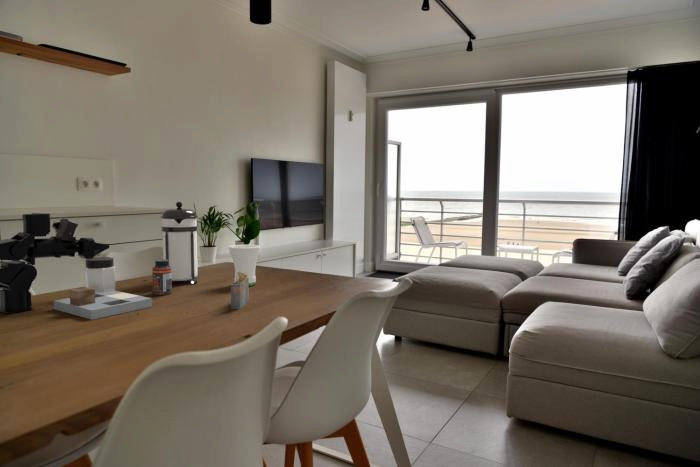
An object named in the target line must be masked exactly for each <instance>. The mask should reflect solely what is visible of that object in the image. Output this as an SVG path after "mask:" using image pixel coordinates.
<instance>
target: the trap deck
mask: <svg viewBox="0 0 700 467" xmlns="http://www.w3.org/2000/svg"><path fill="white" fill-rule="evenodd" d="M151 307H153V298H152V297H148V296H147V297H146V296H143V295H139V294H133V293H128V292H123V291H118V290H115V291H114V290H111V291H106V292H100V293H95V303H92V304H87V305H82V306H77V305H73V304H70V297H67V298H60V299H56V300H53V309H54V310H55V311H59V312H63V313H66V314H70V315H73V316H78V317H81V318H85V319H88V320H91V321H92V320H97V319H102V318H106V317H111V316H116V315H120V314H124V313H125V314H126V313H130V312H133V311H137V310H138V311H139V310H143V309H147V308H148V309H149V308H151Z"/></svg>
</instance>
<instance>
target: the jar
mask: <svg viewBox="0 0 700 467" xmlns="http://www.w3.org/2000/svg"><path fill="white" fill-rule="evenodd" d="M114 260H115V259H114V257H110V256H101V257H99V256H95V257H94V258H93V259H85V267H84V273H85V287H88V288H93V289H95V293H100V292H106V291H111V290H114V291H116V271H115V270H116V269H115V265H114V262H115V261H114Z"/></svg>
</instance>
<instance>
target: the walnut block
mask: <svg viewBox="0 0 700 467" xmlns="http://www.w3.org/2000/svg"><path fill="white" fill-rule="evenodd" d="M69 298H70V304H73V305H77V306H82V305H87V304H92V303H95V289H93V288H88V287H86V286H83V287H78V288H71V289H69Z"/></svg>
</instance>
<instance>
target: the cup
mask: <svg viewBox="0 0 700 467" xmlns="http://www.w3.org/2000/svg"><path fill="white" fill-rule="evenodd" d="M228 249H229V250H228V251H229V255H230V256H231V259H232V262H233V267H234V282H235V281H237V280H238V279H239V276H238V273H239V272H241V273H243V274H245V275H247V278H249V287H252V286H253V285H255V284H256V282H257V277H256V276H257V275H256V267H257V261H258V258H259V255H260V254H261V245H257V244H235V245H234V244H233V245H229V247H228ZM237 272H238V273H237Z"/></svg>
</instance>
